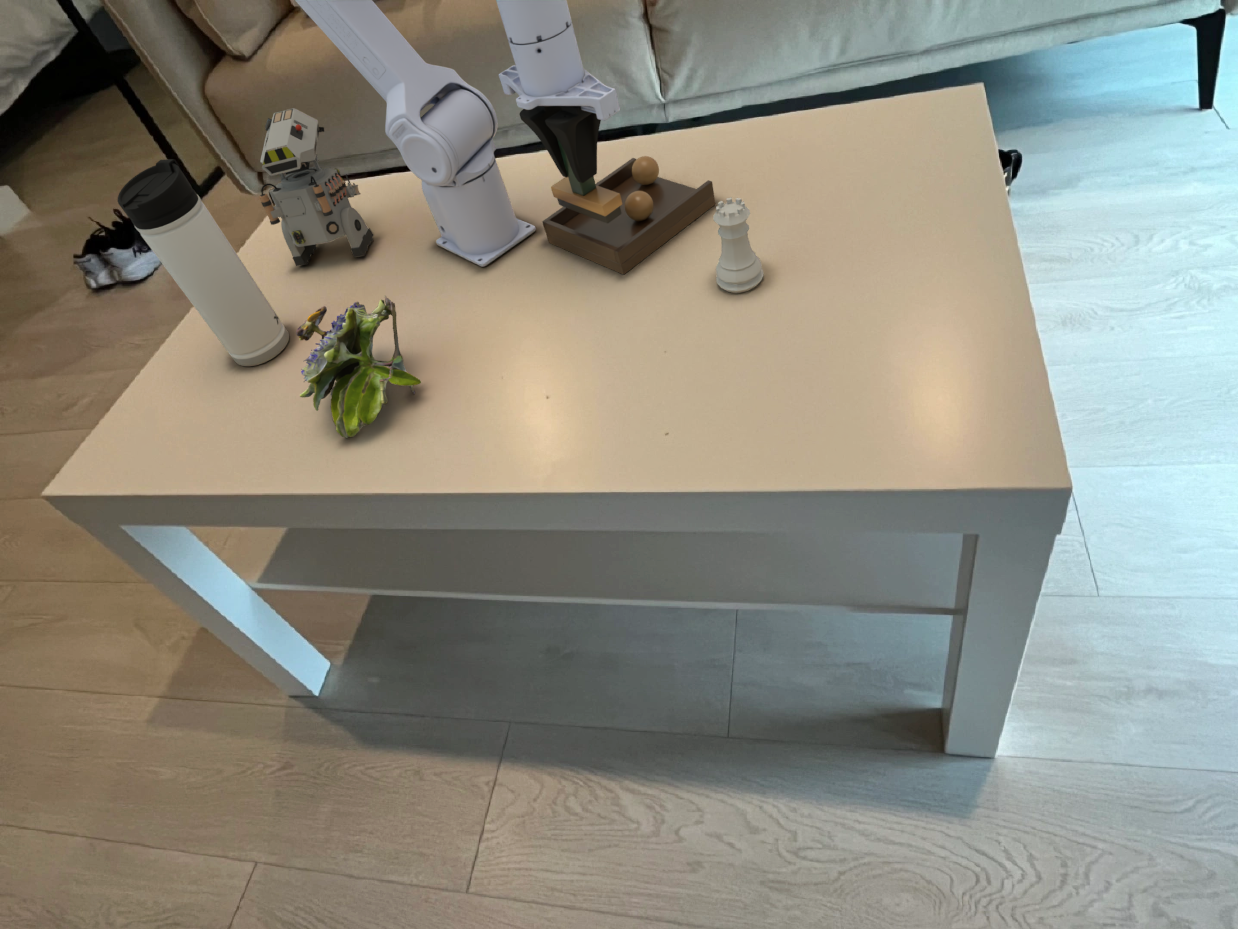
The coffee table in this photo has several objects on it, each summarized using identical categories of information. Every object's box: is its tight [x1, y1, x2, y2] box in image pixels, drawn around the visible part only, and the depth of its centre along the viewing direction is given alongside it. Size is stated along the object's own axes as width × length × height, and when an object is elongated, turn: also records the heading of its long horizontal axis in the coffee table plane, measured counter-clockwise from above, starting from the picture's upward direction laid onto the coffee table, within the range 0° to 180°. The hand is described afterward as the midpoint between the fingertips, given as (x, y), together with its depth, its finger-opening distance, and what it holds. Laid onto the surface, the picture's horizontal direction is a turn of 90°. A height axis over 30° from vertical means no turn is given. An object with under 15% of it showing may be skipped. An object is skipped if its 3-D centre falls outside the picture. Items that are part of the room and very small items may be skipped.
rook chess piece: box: [712, 196, 764, 294], centre depth 74 cm, size 4×4×8 cm
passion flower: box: [295, 295, 422, 439], centre depth 75 cm, size 11×11×12 cm
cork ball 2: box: [625, 191, 654, 221], centre depth 85 cm, size 3×3×3 cm
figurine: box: [258, 107, 375, 267], centre depth 94 cm, size 9×12×15 cm
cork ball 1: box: [632, 155, 660, 185], centre depth 89 cm, size 3×3×3 cm
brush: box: [550, 138, 622, 224], centre depth 80 cm, size 8×2×8 cm, turn 44°
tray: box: [541, 157, 716, 275], centre depth 87 cm, size 12×14×3 cm
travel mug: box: [117, 158, 290, 367], centre depth 80 cm, size 6×7×20 cm
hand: (579, 174), depth 80 cm, fingers closed on brush, 2 cm apart
